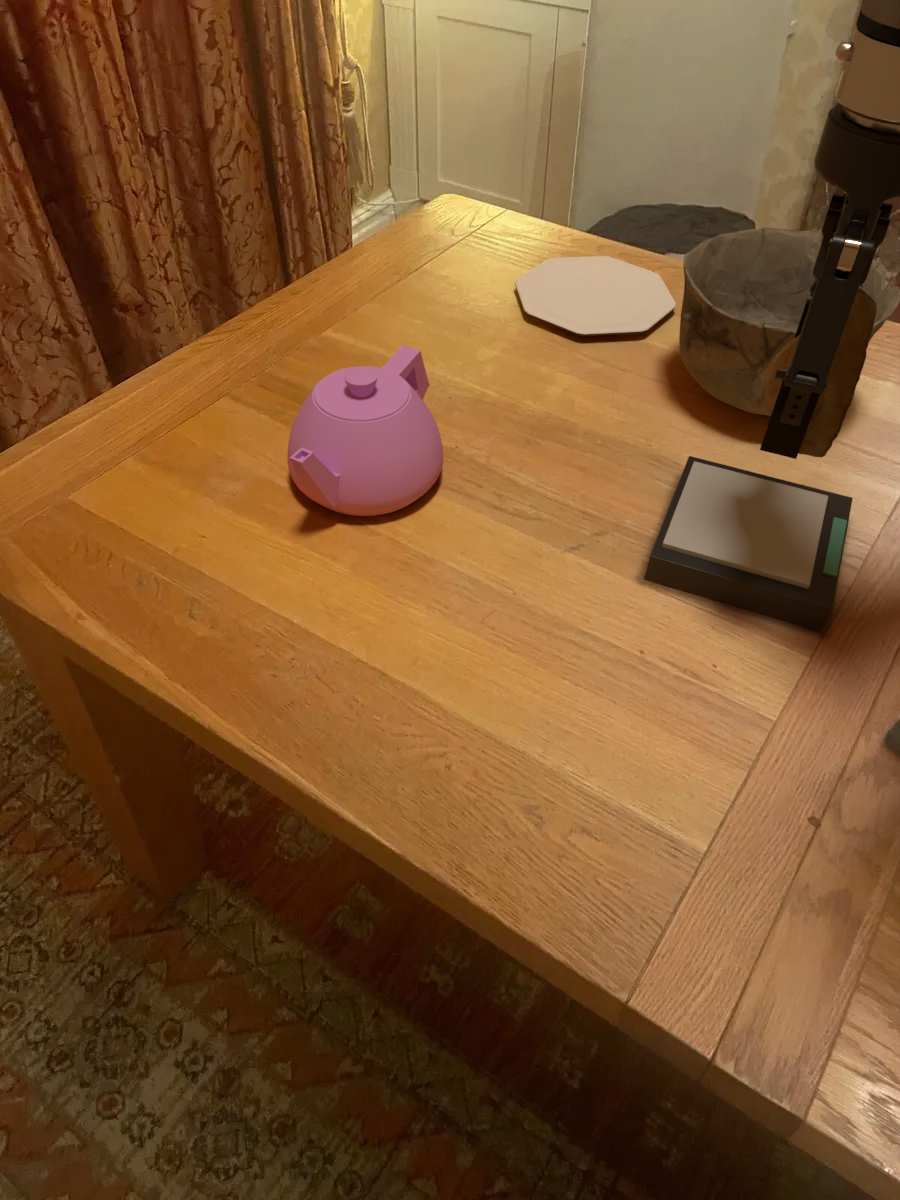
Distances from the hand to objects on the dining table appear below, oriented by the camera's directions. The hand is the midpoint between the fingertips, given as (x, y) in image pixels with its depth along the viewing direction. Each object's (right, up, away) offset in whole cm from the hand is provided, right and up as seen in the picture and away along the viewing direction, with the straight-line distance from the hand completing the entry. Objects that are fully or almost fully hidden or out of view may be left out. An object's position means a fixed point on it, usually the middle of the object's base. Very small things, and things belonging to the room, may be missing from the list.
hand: (789, 412), depth 72 cm
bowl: (+8, +8, +32) cm, 34 cm away
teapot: (-36, -2, +21) cm, 42 cm away
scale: (+1, -10, +15) cm, 18 cm away
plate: (-8, +24, +46) cm, 53 cm away
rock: (0, -1, 0) cm, 1 cm away
